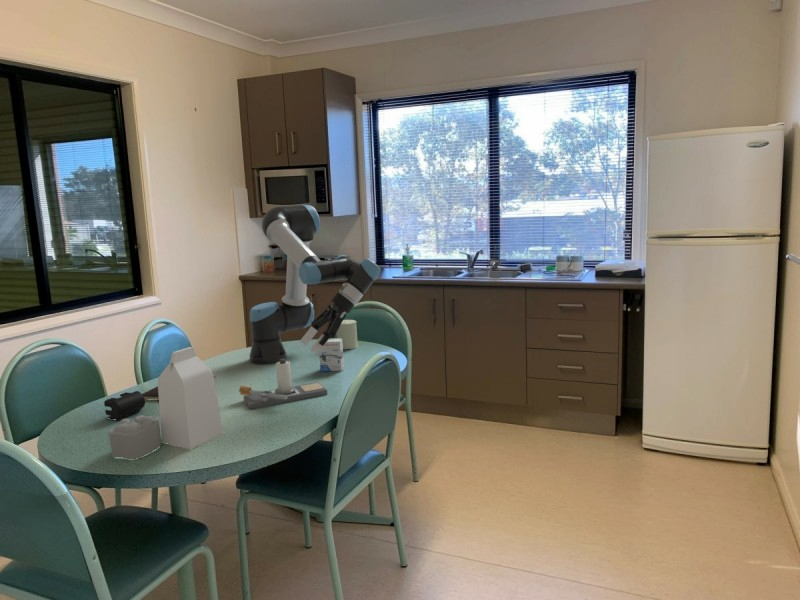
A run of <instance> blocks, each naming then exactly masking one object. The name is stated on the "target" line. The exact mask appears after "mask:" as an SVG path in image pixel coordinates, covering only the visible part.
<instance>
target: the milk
mask: <svg viewBox="0 0 800 600" xmlns="http://www.w3.org/2000/svg"><path fill="white" fill-rule="evenodd" d="M214 377H215V375H214V373H213V371H212V370H211V369H210V367H209V366H207V364H206V363H204V361H203V360H201V358H199V356H198V355H197V354H196V351H195V349H194V347H192V346H191V347H190V346H189V347H186V348H181V349H179V350H178V349H177V350H175V351H173V352H172V354H171V357H170V361H169V363H168V365H167V366H166V367H165V369H164V370H163V371H162V372H161V373H160V375H159V377H158V378H157V386H158V394H159V401H158V403H159V404H158V406H159V407H158V408H159V423H160V434H161V442H164V443H168V444H171V445H170V446H172V445H175V446H174V447H176V446H179V447H178V448H180V447H183V448H182V449H184V448H187V449H186V450H189V449H192V450H194V449H196V448H197V447H196V446H198V445H200V444H202V445H203V443H204V442H206V441H208V442H210V441H211V440H210V439H212V440H214V439H216V438H217V436H218V437H219V435H220V436H222V435H223V433H224V428H223V423H222V417H221V411H220V406H219V405H220V404H219V400H218V395H217V394H218V393H217V388H216V382H215V380H214V379H215V378H214ZM221 434H222V435H221ZM215 437H216V438H215ZM213 438H214V439H213ZM209 440H210V441H209ZM206 443H207V442H206ZM204 444H205V443H204ZM200 446H201V445H200ZM195 447H196V448H195ZM198 447H199V446H198ZM193 448H194V449H193Z"/></svg>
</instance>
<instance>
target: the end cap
mask: <svg viewBox="0 0 800 600" xmlns="http://www.w3.org/2000/svg"><path fill="white" fill-rule="evenodd" d="M142 394H143V393H142V392H140V391H139V390H136V391H132V392H124V393H121V394H119V397H117V398H116V397H110V398H107V399H106V400H104V402H103V404H104V407H107V408H110V409H111V410H109V409H105V410H104V411H105V415H106V416H107V417H106V418H110V419H116V421H118V419H119V420H121V419H124V418H126V417H128V416H131V415H132V413H133V414H135V413H137V412H136V411H138V412H139V410H140V411H141V410H142V409H143V408H145V406H146V405H145V404H146V400H145V399H144V396H143V395H142ZM134 412H135V413H134ZM130 414H131V415H130ZM127 415H128V416H127ZM125 416H126V417H125ZM123 417H124V418H123ZM120 418H121V419H120Z"/></svg>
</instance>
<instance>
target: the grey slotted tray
mask: <svg viewBox="0 0 800 600" xmlns="http://www.w3.org/2000/svg"><path fill="white" fill-rule="evenodd" d="M293 387H295V389H296V390H295V392H293V394H289V395H287V397H288V399H286V400H284V399H278V398H272V397H261V396H260V395H254V394H252V395H250V396H247V395H243V401H244V402H246V403H245V404H246V406H247V405H248V406H247V407H248V408H250V409H249V410H253V409H259V408H264V407H269V406H274V404H275V405H279V403H280V404H283V403H284V402H285V403H290V402H295V401H300V399H301V400H304V399H305V398H306V399H309V398H310V397H311V398H315V396H316V397H321V396H324V395H325V394H326V395H328V389H327V388H326V387H324V386H323V385H322V384H321V383H320V382H319V381H317V382H310V383H306V384H301V385H294V386H293ZM275 390H276V389H273V390H268V391H269V392H270V393H275ZM275 394H276V393H275ZM320 395H321V396H320ZM326 395H325V396H326ZM294 400H295V401H294ZM289 401H290V402H289Z"/></svg>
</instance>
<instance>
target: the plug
mask: <svg viewBox="0 0 800 600" xmlns="http://www.w3.org/2000/svg"><path fill="white" fill-rule="evenodd" d="M286 359H287V358H286ZM286 359H280V362H276V363H275V368H276V369H275V370H276V380H277V388H275V389H274V390H275V393H276V394H281V395H289V394H293V392H295V390H296V389H295V387H294V386H293V384H292V374H291V373H292V371H291V362H290V361H288V360H286Z"/></svg>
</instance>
